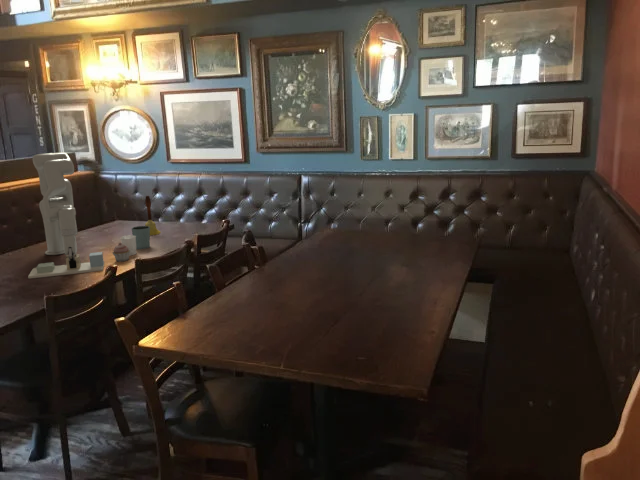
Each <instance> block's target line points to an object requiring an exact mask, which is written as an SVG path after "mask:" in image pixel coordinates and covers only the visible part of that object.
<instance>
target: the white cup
mask: <svg viewBox="0 0 640 480" xmlns="http://www.w3.org/2000/svg"><path fill="white" fill-rule="evenodd" d="M120 241H121V242H120V243H123V244H125V245H126V246H127V247H128V250H130V254H129V257H130V256H135V255H137V249H136V236H133V234H132V235H124V236H121V237H120Z"/></svg>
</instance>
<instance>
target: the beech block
mask: <svg viewBox="0 0 640 480" xmlns="http://www.w3.org/2000/svg"><path fill="white" fill-rule="evenodd" d="M65 256H66V255H65ZM75 260H76V265H77V268H71V269H79V268H80V267H81V263H82V262H81V255H80V253H79V254H78V253H76V255H75ZM65 263H66V264H65V265H67V270H70V266H69V256H68V255H67V256H66V257H65Z"/></svg>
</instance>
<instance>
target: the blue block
mask: <svg viewBox="0 0 640 480" xmlns="http://www.w3.org/2000/svg"><path fill="white" fill-rule="evenodd" d="M88 260H89V262H90V266H91V267H97V266H103V264H104V265H105V260H104V255H103V251H98V252H97V251H96V252H89V255H88Z"/></svg>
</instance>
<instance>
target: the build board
mask: <svg viewBox="0 0 640 480" xmlns="http://www.w3.org/2000/svg"><path fill="white" fill-rule="evenodd" d="M104 267H105V263H104V264H103V266H97V267H91V266H90V261H89V262H81V267H80V268H79V269H70V270H67V265H66V264H62V265H61V264H60V265H55V262H53V261H51V262H44V263H38V264H37V266H36V267H33V268H32V270H31V271H30V273H29V274H28V277H27V279H36V278H48V277H54V276H55V277H56V276H66V275H73V274H83V273H92V272H101V271H102V272H103V271H104Z"/></svg>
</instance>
